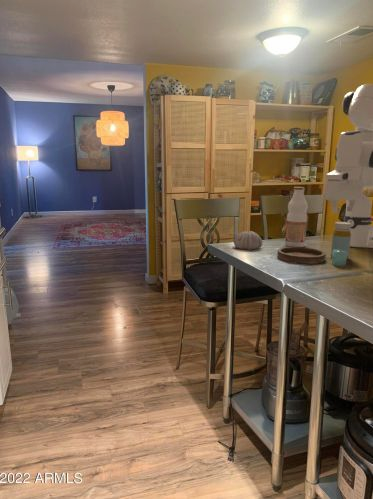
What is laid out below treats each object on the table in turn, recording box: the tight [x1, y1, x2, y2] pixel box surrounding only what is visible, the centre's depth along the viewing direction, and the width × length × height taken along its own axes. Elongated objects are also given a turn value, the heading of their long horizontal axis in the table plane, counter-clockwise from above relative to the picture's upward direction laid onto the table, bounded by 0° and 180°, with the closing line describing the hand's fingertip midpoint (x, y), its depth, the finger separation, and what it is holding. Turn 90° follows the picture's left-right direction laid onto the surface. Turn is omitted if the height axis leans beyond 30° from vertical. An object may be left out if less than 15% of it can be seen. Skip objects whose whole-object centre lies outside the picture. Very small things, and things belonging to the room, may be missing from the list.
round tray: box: [276, 246, 327, 265], centre depth 160 cm, size 19×19×3 cm
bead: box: [331, 250, 347, 267], centre depth 150 cm, size 5×5×6 cm
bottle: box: [330, 221, 351, 260], centre depth 159 cm, size 7×7×15 cm
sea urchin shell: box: [233, 230, 264, 251], centre depth 178 cm, size 13×14×8 cm
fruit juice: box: [284, 186, 309, 247], centre depth 182 cm, size 9×9×28 cm
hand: (342, 212), depth 146 cm, fingers open, 8 cm apart
